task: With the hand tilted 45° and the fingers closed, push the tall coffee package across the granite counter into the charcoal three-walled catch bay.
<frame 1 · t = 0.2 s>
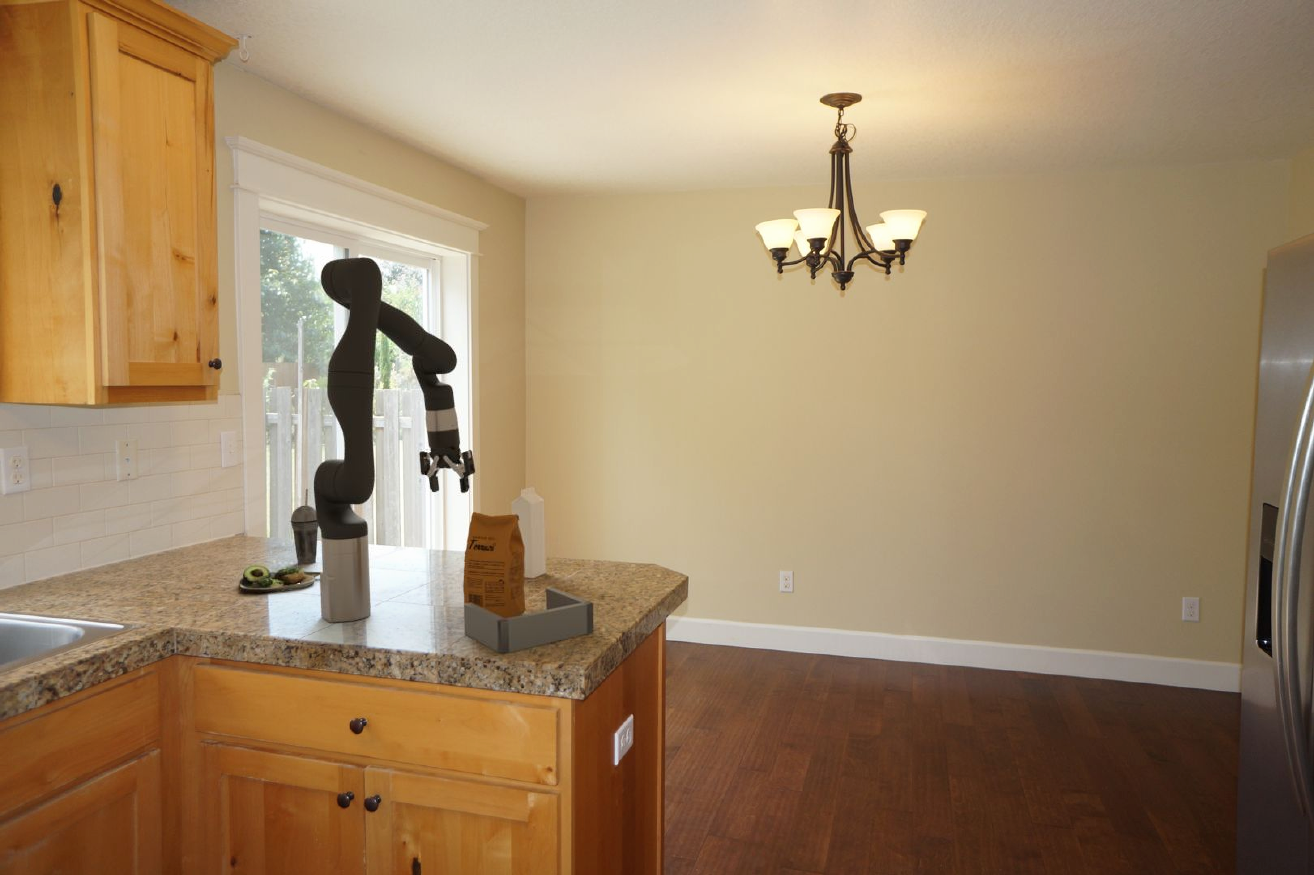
hand: (450, 491, 211), 22 cm above the countertop, tool pointing down, fingers open, 8 cm apart
coffee package: (494, 617, 179), on the countertop
milk: (529, 575, 216), on the countertop
salad plate: (275, 586, 208), on the countertop
catch bay: (527, 632, 168), on the countertop
beverage cup: (306, 563, 232), on the countertop
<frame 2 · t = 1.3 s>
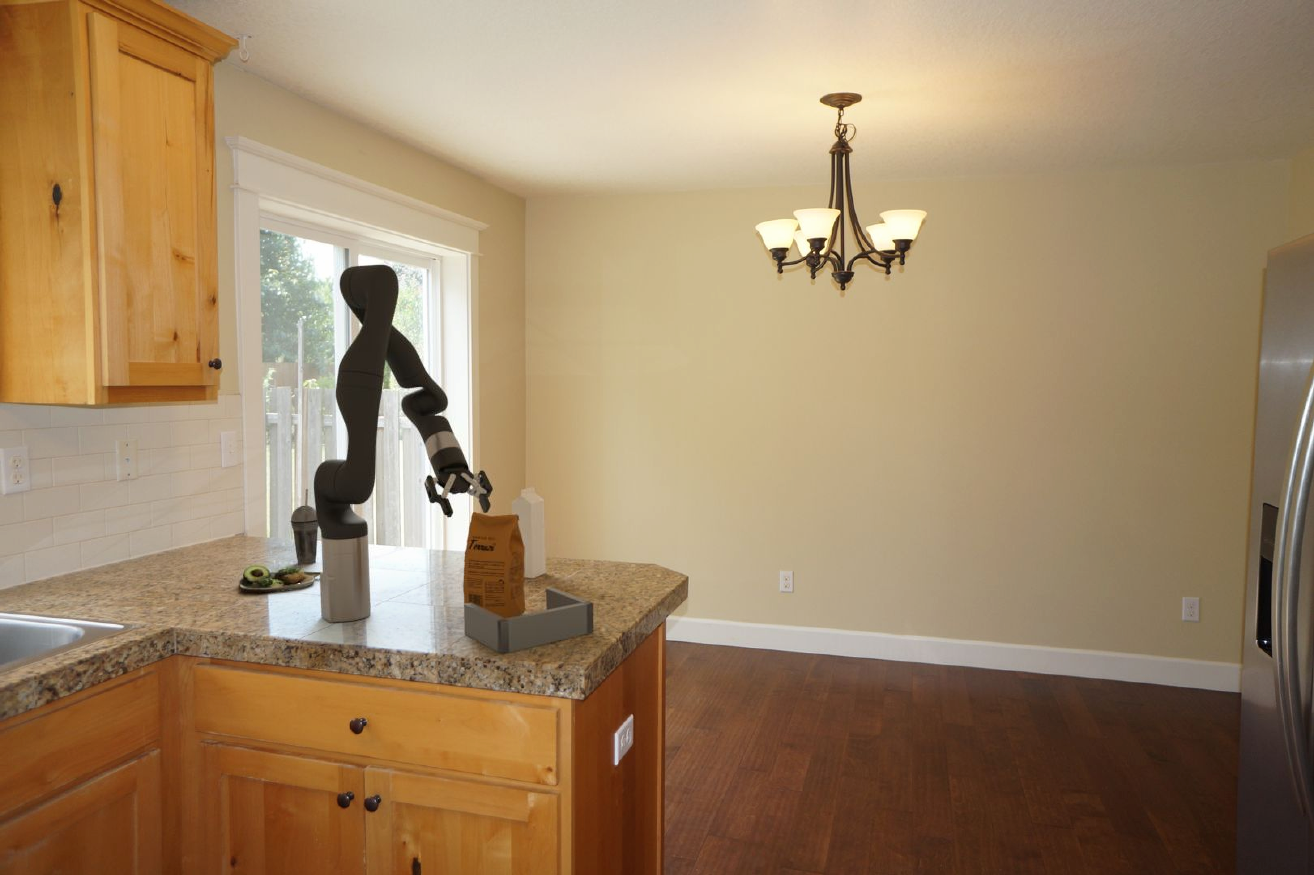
hand: (469, 512, 186), 21 cm above the countertop, tool tilted 45°, fingers open, 8 cm apart
nothing on the countertop moved.
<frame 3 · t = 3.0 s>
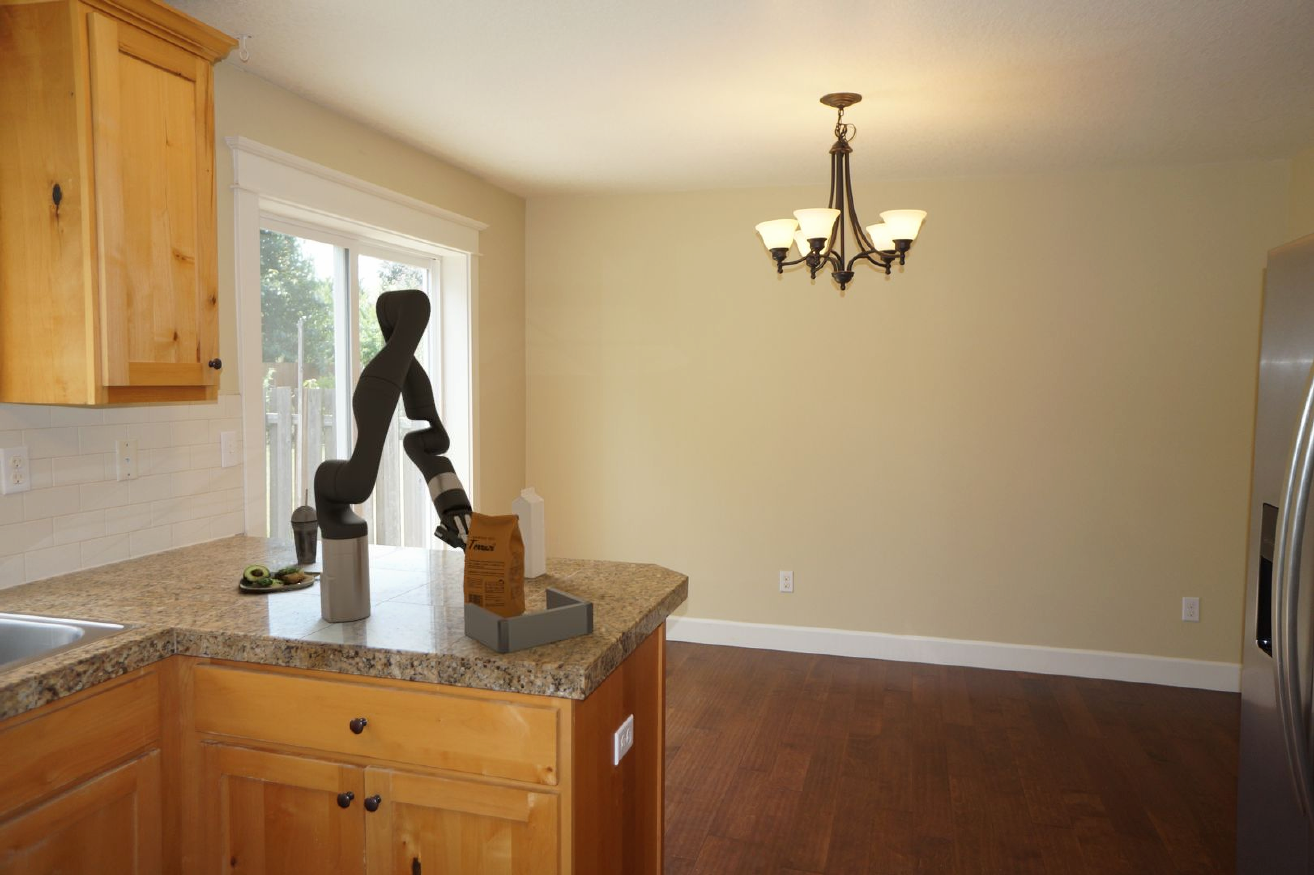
hand: (475, 559, 186), 10 cm above the countertop, tool tilted 45°, fingers closed
nothing on the countertop moved.
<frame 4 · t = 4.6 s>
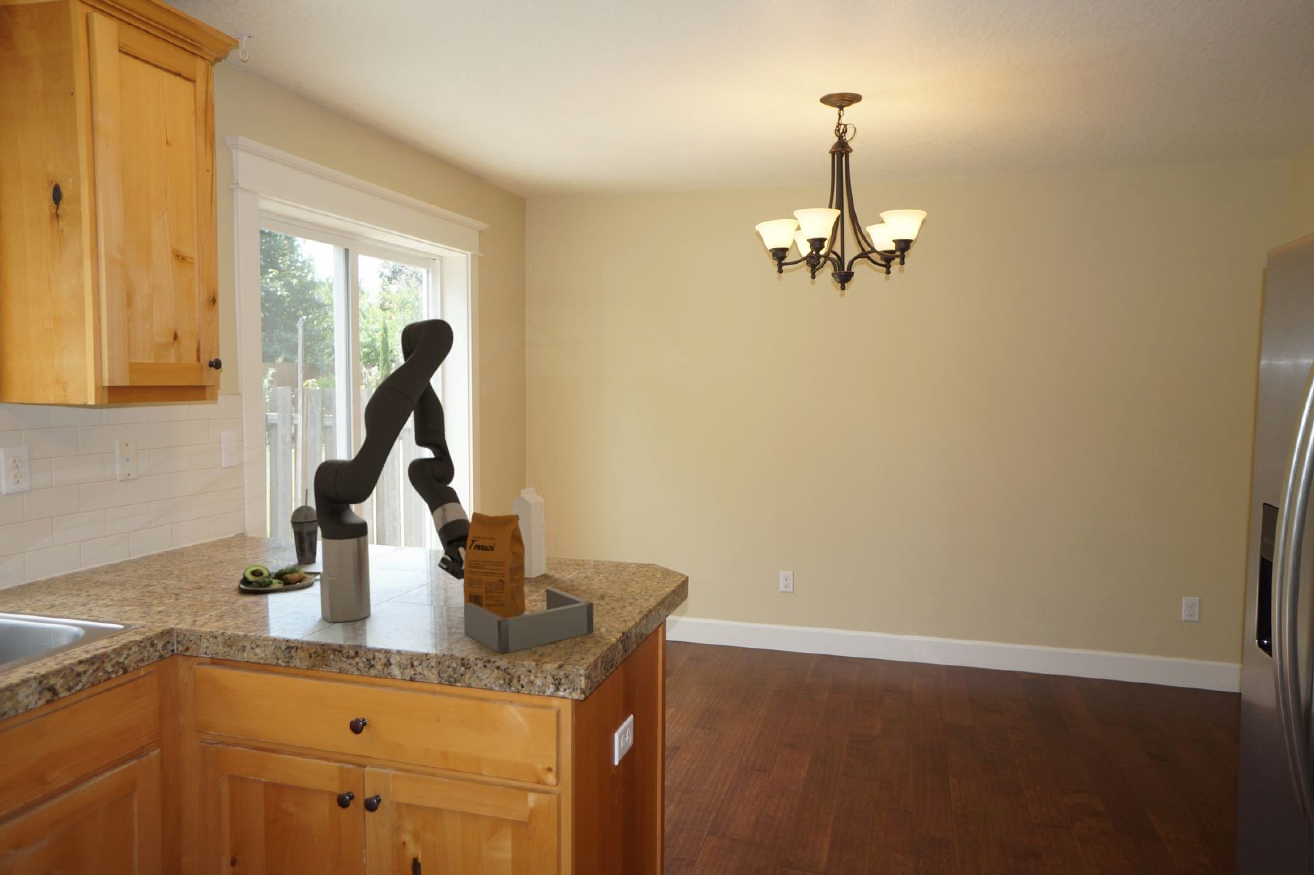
hand: (479, 591, 185), 4 cm above the countertop, tool tilted 45°, fingers closed
coffee package: (494, 617, 179), on the countertop, touching gripper
everything else where it was.
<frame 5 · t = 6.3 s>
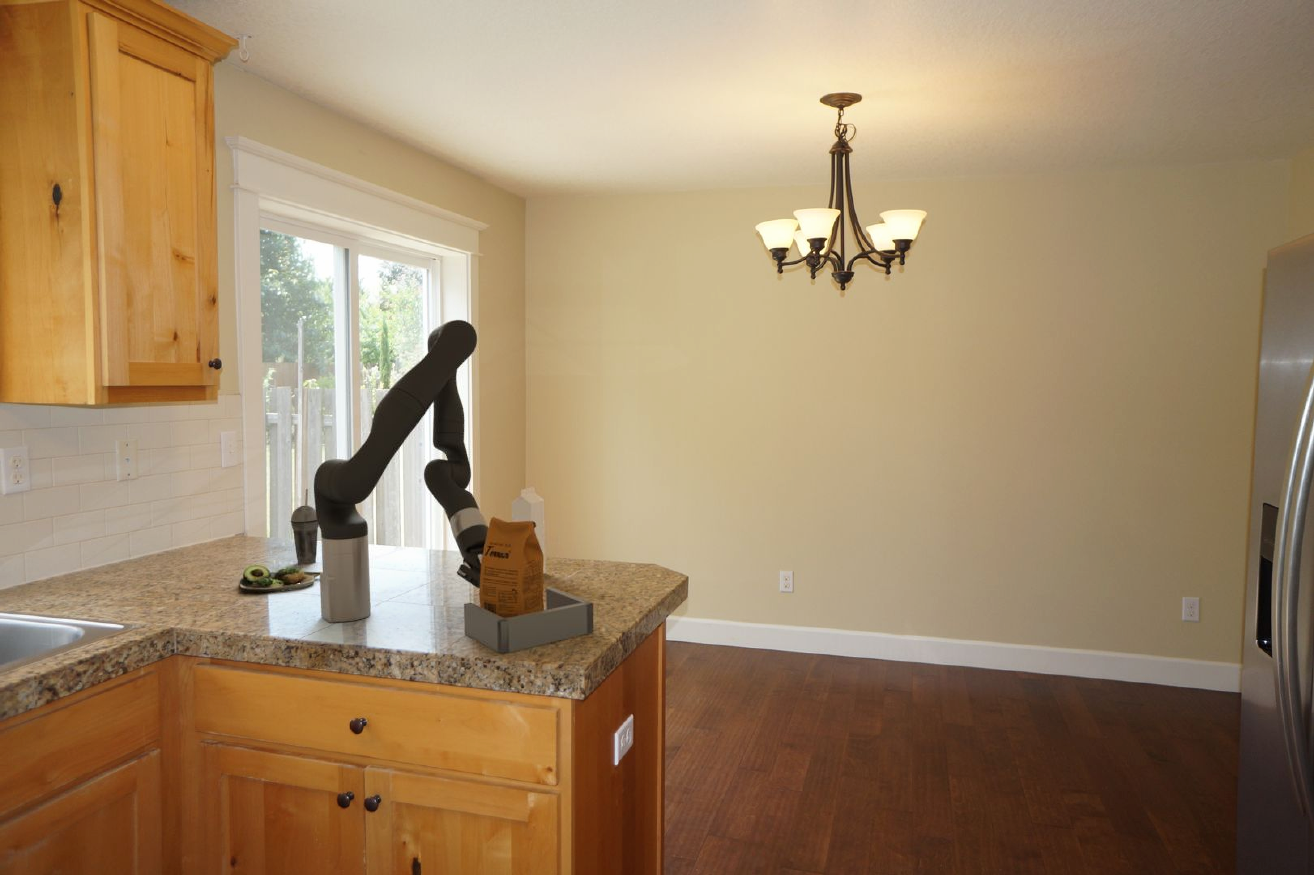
hand: (500, 600, 178), 4 cm above the countertop, tool tilted 45°, fingers closed
coffee package: (511, 628, 172), on the countertop, touching gripper
everything else where it was.
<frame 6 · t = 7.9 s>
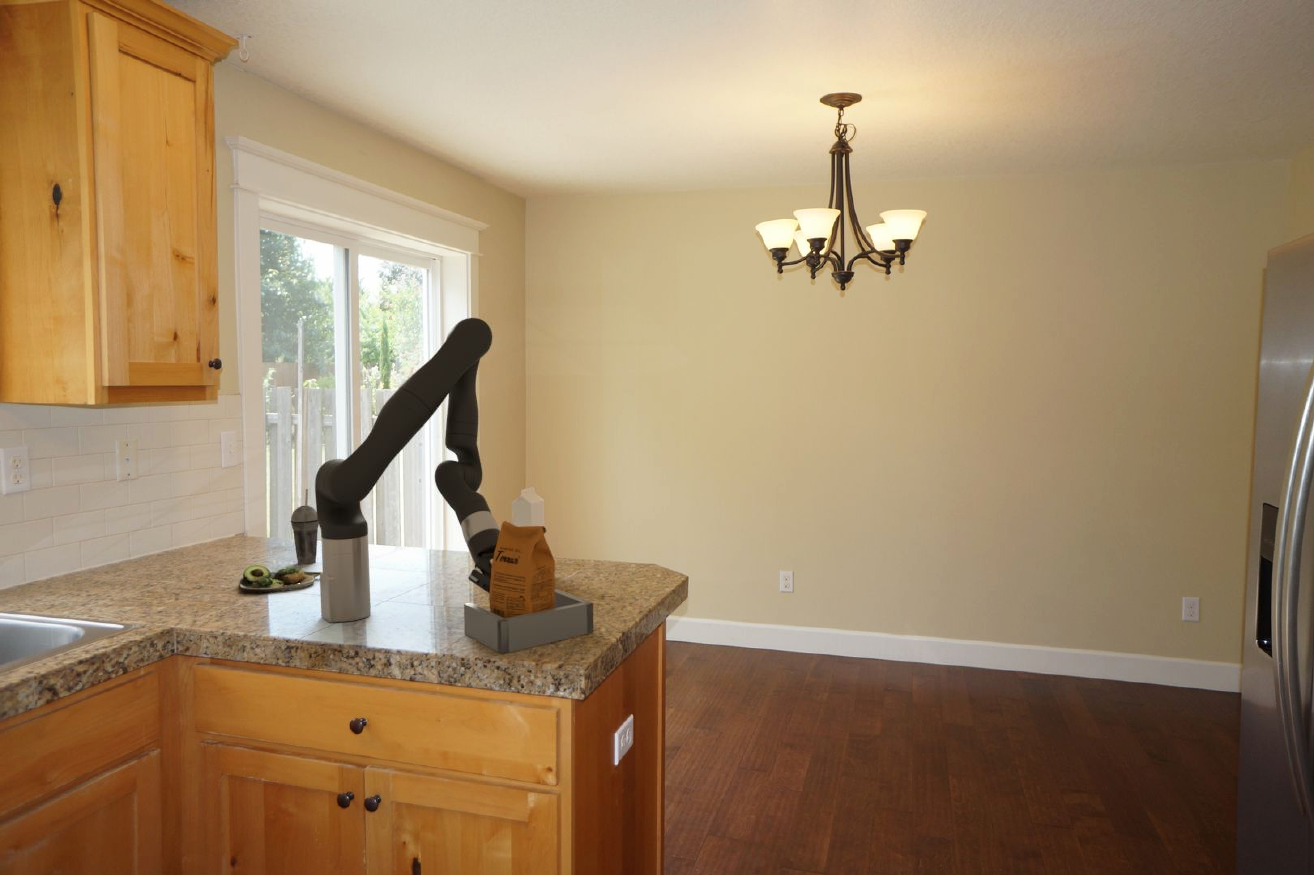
hand: (512, 606, 173), 4 cm above the countertop, tool tilted 45°, fingers closed
coffee package: (522, 635, 167), on the countertop, touching catch bay, gripper
everything else where it was.
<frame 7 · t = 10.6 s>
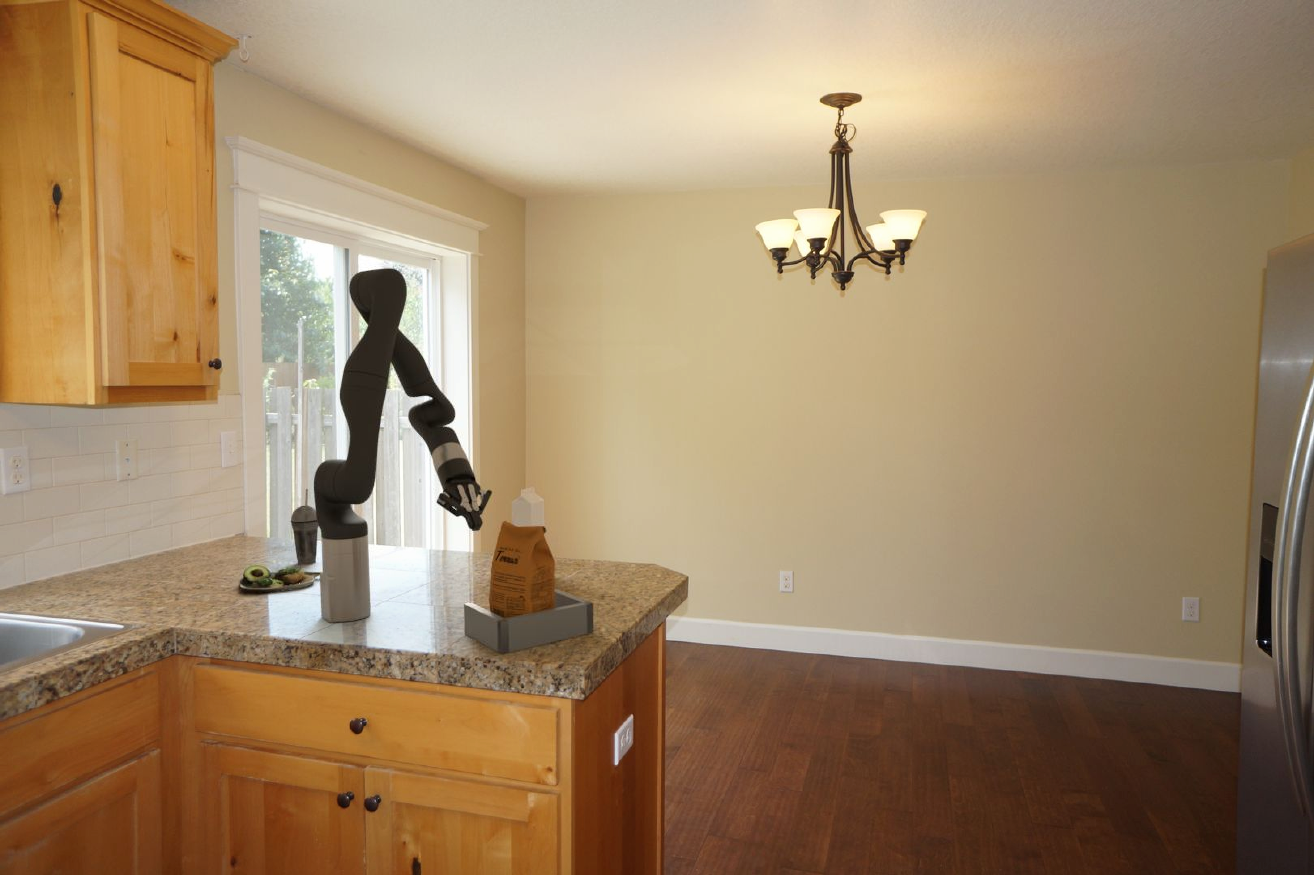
hand: (477, 528, 183), 18 cm above the countertop, tool tilted 45°, fingers closed
coffee package: (522, 635, 167), on the countertop, touching catch bay
everything else where it was.
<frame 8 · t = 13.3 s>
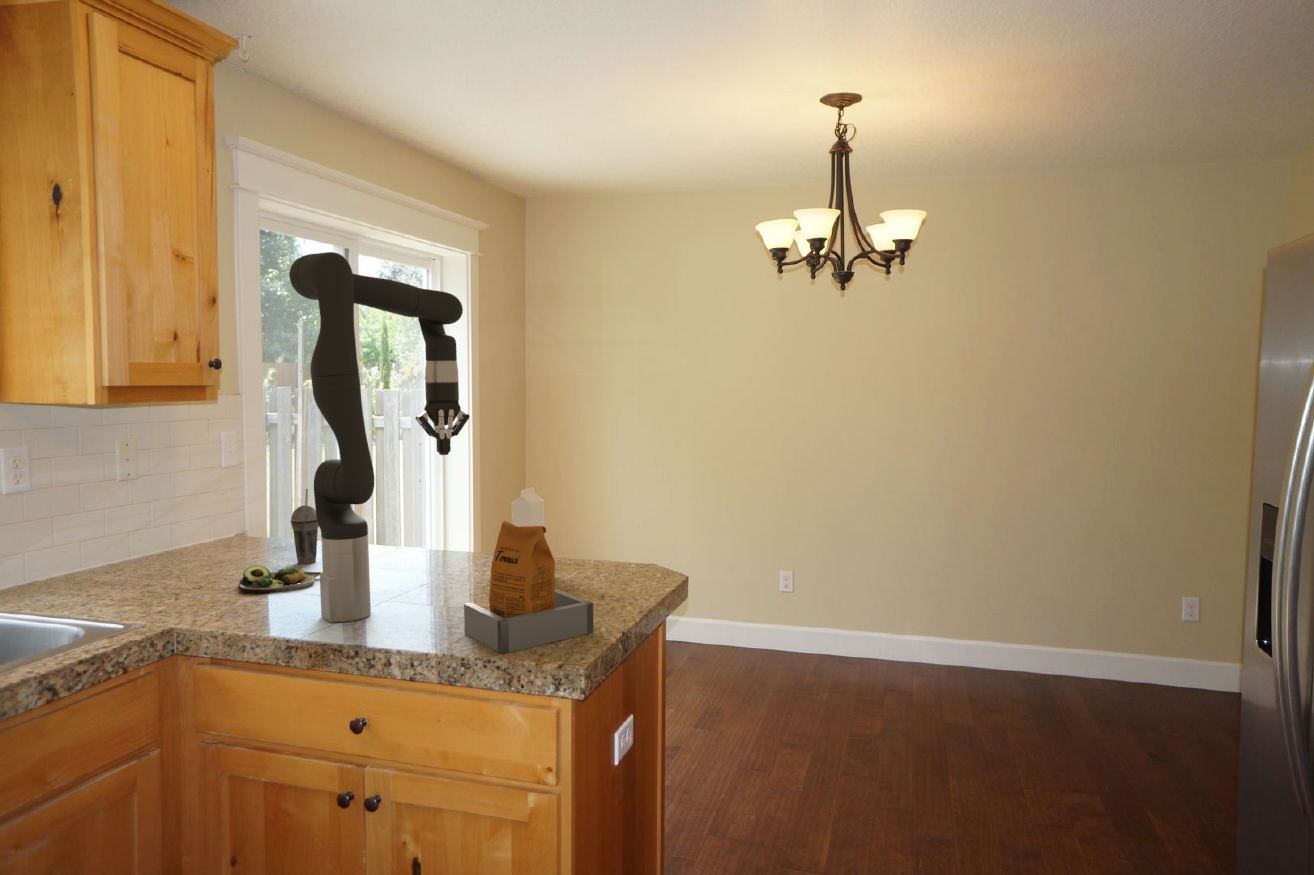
hand: (443, 454, 200), 32 cm above the countertop, tool pointing down, fingers closed
nothing on the countertop moved.
at the end: coffee package inside the target area on the catch bay (1.4 cm from its centre), point 0.0 cm above the catch bay's base; coffee package tilted 0° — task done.
